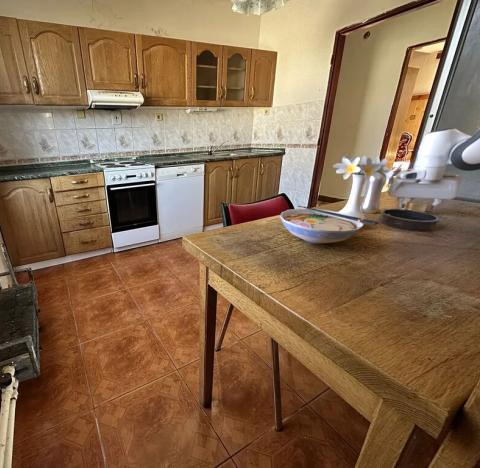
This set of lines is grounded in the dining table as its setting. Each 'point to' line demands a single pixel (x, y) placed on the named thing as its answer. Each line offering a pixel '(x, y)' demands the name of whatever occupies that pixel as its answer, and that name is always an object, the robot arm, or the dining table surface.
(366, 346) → the dining table surface
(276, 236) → the dining table surface
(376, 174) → the flower vase
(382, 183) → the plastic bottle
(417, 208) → the block
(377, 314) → the dining table surface
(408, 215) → the pan
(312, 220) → the ramen bowl
